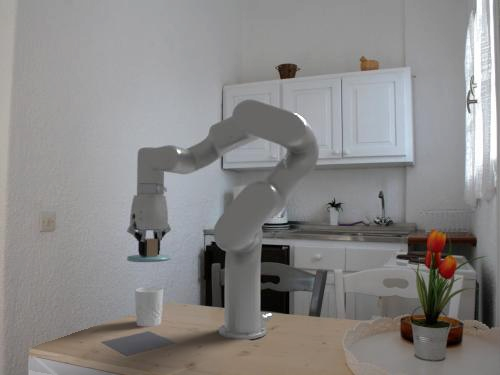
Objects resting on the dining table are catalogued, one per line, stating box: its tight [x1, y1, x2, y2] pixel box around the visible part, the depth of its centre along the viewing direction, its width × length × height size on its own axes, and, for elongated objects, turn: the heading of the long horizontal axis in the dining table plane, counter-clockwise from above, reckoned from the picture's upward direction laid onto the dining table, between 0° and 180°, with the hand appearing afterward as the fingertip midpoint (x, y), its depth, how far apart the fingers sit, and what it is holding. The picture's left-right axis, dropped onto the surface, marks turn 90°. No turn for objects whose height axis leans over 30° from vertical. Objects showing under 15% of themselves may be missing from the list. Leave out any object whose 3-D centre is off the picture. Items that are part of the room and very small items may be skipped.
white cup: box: [134, 286, 164, 328], centre depth 119 cm, size 8×8×10 cm
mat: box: [101, 330, 177, 357], centre depth 101 cm, size 13×13×1 cm
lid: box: [126, 237, 171, 263], centre depth 120 cm, size 12×12×6 cm
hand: (149, 254), depth 119 cm, fingers closed on lid, 3 cm apart
